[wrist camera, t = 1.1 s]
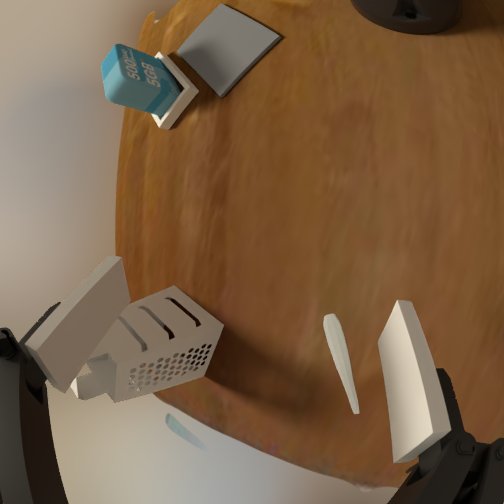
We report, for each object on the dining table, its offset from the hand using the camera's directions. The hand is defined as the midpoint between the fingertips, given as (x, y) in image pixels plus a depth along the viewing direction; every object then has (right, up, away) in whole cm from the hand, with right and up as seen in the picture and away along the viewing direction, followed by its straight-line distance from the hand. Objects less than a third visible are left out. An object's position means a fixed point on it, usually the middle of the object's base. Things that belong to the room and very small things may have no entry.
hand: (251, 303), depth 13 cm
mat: (-4, +34, +21) cm, 40 cm away
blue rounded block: (-14, +30, +28) cm, 44 cm away
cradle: (-14, +30, +28) cm, 44 cm away
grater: (-9, -10, +29) cm, 32 cm away
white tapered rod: (+13, -17, +15) cm, 26 cm away
